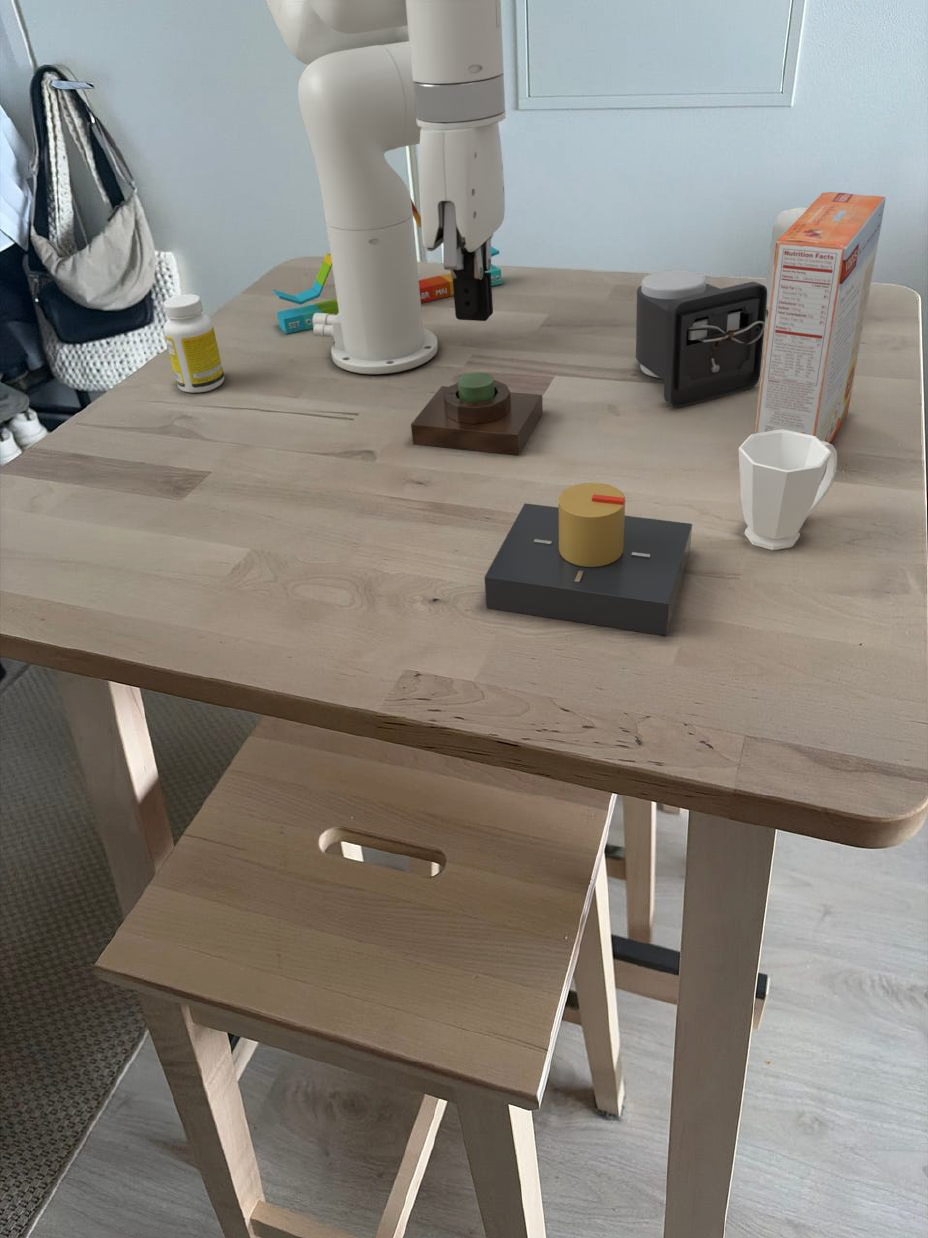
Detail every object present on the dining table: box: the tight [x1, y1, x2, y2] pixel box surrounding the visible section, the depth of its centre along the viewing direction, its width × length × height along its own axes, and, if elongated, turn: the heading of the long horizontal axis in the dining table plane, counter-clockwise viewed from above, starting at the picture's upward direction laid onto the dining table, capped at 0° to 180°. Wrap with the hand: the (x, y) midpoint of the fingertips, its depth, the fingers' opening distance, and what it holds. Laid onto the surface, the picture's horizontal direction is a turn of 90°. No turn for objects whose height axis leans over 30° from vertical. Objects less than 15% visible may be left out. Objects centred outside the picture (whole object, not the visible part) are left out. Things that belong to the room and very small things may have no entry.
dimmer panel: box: [484, 503, 693, 636], centre depth 79 cm, size 14×11×3 cm
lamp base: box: [410, 379, 544, 456], centre depth 100 cm, size 11×9×4 cm
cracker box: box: [754, 191, 886, 444], centre depth 89 cm, size 14×6×21 cm, turn 150°
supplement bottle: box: [162, 293, 225, 394], centre depth 112 cm, size 5×5×10 cm
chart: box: [272, 198, 502, 335], centre depth 126 cm, size 30×3×15 cm, turn 115°
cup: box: [737, 429, 838, 551], centre depth 81 cm, size 7×10×8 cm
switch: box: [457, 371, 495, 402], centre depth 99 cm, size 4×4×2 cm
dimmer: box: [558, 482, 626, 567], centre depth 76 cm, size 5×5×5 cm
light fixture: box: [635, 269, 767, 409], centre depth 105 cm, size 11×13×11 cm
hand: (474, 316), depth 94 cm, fingers closed
